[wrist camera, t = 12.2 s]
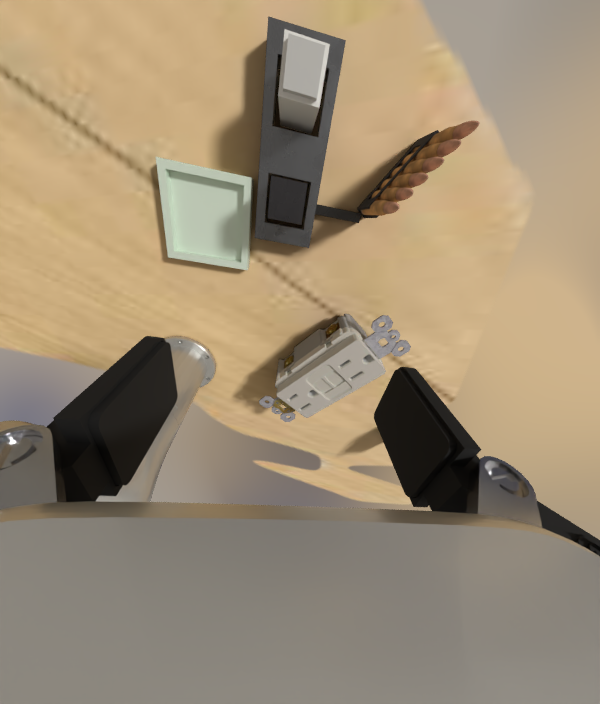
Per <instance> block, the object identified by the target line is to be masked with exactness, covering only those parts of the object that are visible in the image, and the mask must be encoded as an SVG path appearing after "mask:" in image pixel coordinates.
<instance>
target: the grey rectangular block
mask: <svg viewBox="0 0 600 704" xmlns="http://www.w3.org/2000/svg"><path fill="white" fill-rule="evenodd" d="M329 47H330V44H328V43H325V42H322V41H319V40H316V39H313V38H310V37H307V36H304V35H301V34H298V33H295V32H292V31H289V30H286V29H285V30H284V40H283V51H282V61H281V71H280V82H279V92H278V100H279V113H280V125H281V126H282V127H286V128H290V129H293V130H297V131H301V132H304V133H308V134H311V133H312V130H313V127H314V124H315V120H316V117H317V114H318V111H319V107H320V101H321V95H322V89H323V83H324V77H325V71H326V65H327V59H328V53H329Z"/></svg>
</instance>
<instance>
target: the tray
mask: <svg viewBox="0 0 600 704" xmlns="http://www.w3.org/2000/svg"><path fill="white" fill-rule="evenodd" d="M156 164H157V172H158V180H159V188H160V196H161V204H162V212H163V220H164V228H165V237H166V245H167V253H168V257H169V258H176V259H182V260H188V261H194V262H200V263H206V264H212V265H218V266H224V267H230V268H236V269H242V270H248V269H249V259H250V240H251V221H252V202H253V182H254V179H253V178H251V177H247V176H242V175H237V174H233V173H228V172H223V171H219V170H214V169H210V168H205V167H200V166H196V165H191V164H187V163H182V162H177V161H173V160H168V159H164V158H159V157H156Z"/></svg>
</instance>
